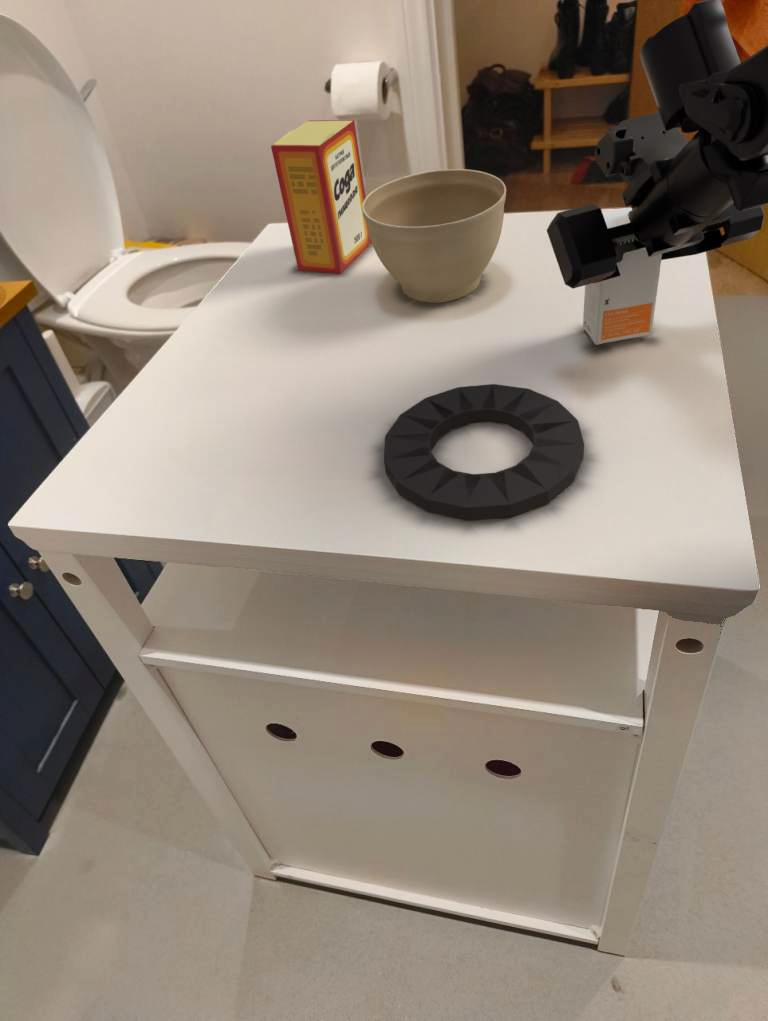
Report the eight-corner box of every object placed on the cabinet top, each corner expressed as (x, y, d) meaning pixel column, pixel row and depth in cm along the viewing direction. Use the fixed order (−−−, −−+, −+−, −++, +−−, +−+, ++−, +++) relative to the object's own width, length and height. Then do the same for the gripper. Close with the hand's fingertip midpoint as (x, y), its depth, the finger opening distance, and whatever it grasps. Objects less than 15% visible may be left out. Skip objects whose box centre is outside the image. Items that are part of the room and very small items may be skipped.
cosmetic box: (595, 347, 75) (602, 230, 67) (581, 327, 78) (586, 214, 70) (654, 336, 75) (668, 218, 67) (638, 316, 78) (649, 202, 70)
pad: (566, 390, 71) (566, 377, 70) (597, 512, 58) (598, 498, 57) (389, 405, 73) (387, 393, 72) (382, 527, 60) (380, 513, 59)
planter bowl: (361, 275, 95) (347, 188, 88) (479, 246, 97) (475, 159, 89) (395, 331, 83) (382, 237, 76) (529, 297, 85) (529, 202, 78)
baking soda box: (330, 239, 104) (308, 117, 94) (371, 242, 102) (353, 116, 91) (298, 270, 99) (270, 142, 88) (341, 273, 96) (317, 143, 85)
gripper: (770, 61, 59) (672, 168, 75) (559, 113, 57) (503, 212, 72) (817, 190, 59) (708, 270, 74) (606, 248, 56) (539, 319, 72)
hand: (615, 265), depth 73 cm, fingers closed on cosmetic box, 6 cm apart
